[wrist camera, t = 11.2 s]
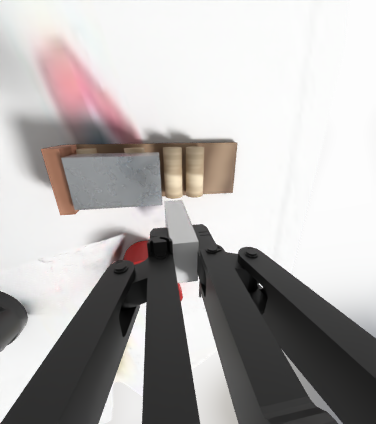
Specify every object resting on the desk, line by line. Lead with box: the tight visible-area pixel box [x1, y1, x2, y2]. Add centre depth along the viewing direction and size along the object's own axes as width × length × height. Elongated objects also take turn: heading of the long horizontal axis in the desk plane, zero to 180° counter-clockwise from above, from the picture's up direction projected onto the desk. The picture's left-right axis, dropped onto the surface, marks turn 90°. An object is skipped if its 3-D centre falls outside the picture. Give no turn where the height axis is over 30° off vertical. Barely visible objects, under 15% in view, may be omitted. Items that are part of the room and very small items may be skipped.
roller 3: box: [186, 147, 204, 197], centre depth 32 cm, size 8×3×3 cm, turn 0°
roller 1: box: [76, 148, 97, 154], centre depth 30 cm, size 8×3×3 cm, turn 0°
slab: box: [61, 152, 162, 210], centre depth 28 cm, size 12×7×4 cm, turn 90°
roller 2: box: [124, 147, 145, 153], centre depth 31 cm, size 8×3×3 cm
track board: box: [41, 142, 237, 215], centre depth 31 cm, size 28×9×7 cm, turn 90°
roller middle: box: [163, 147, 183, 199], centre depth 32 cm, size 8×3×3 cm, turn 0°
